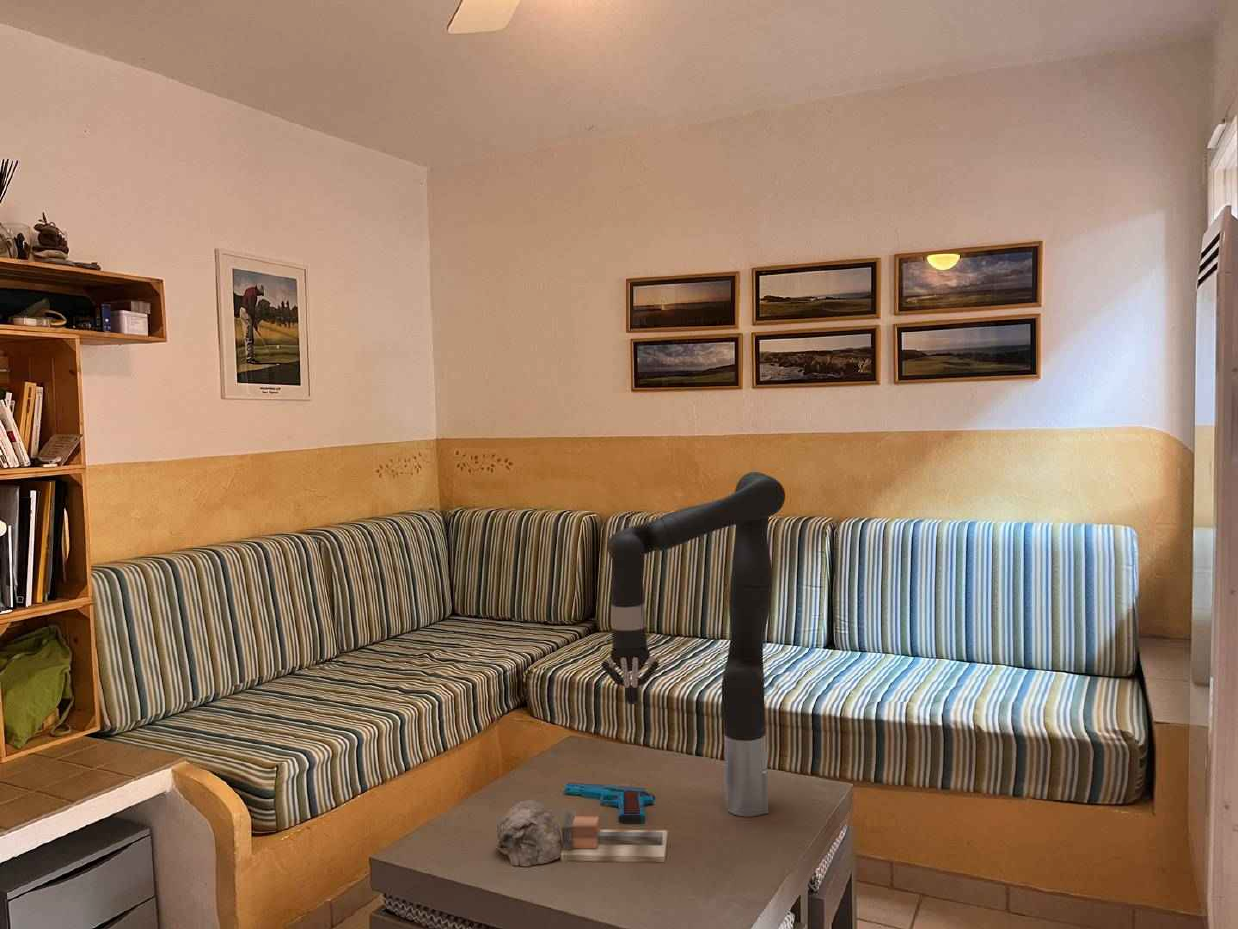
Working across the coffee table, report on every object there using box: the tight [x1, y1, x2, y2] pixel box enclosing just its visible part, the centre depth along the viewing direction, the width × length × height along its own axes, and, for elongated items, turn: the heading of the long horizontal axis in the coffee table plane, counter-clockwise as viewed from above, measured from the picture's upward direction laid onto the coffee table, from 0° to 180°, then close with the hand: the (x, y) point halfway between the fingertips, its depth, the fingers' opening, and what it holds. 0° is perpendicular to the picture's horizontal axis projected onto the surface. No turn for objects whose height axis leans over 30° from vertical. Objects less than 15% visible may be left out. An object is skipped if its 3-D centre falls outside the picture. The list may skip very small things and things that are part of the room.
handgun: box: [563, 781, 656, 824], centre depth 215 cm, size 23×3×15 cm
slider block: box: [572, 812, 602, 848], centre depth 196 cm, size 5×6×5 cm
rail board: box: [560, 811, 669, 863], centre depth 195 cm, size 21×11×6 cm, turn 84°
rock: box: [496, 799, 563, 867], centre depth 194 cm, size 15×12×10 cm
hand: (632, 703), depth 203 cm, fingers closed
